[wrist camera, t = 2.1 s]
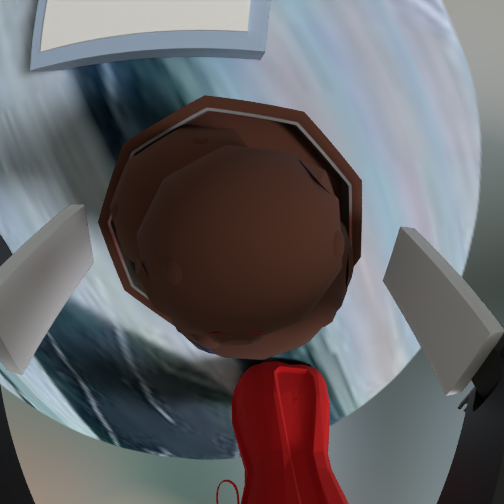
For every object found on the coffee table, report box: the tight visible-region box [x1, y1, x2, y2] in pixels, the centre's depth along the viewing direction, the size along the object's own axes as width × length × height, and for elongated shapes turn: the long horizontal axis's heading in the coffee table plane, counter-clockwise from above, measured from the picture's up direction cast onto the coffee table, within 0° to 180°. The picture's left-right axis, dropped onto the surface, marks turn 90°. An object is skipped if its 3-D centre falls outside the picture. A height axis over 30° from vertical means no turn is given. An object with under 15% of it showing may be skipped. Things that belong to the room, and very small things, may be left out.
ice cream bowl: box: [98, 96, 362, 360], centre depth 14 cm, size 11×11×15 cm
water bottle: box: [216, 362, 348, 504], centre depth 20 cm, size 9×11×25 cm
